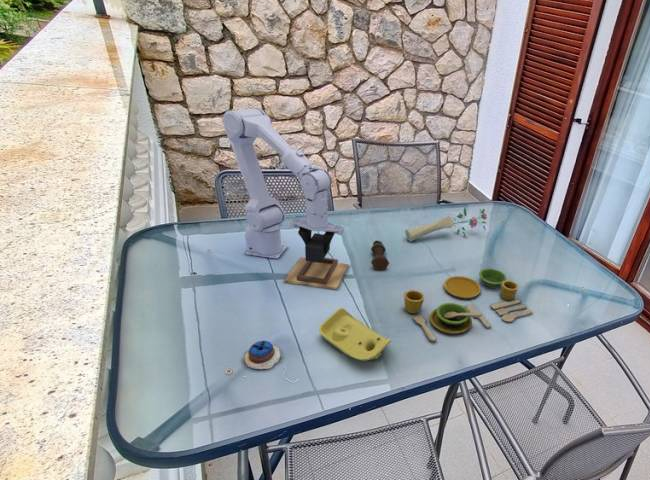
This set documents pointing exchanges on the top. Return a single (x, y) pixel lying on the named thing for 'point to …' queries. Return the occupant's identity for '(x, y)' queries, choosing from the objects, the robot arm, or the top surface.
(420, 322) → the tableware set
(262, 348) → the dessert
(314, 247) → the black rectangular block
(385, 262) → the brown figurine
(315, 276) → the mount plate
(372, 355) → the plastic component
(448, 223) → the flower vase
